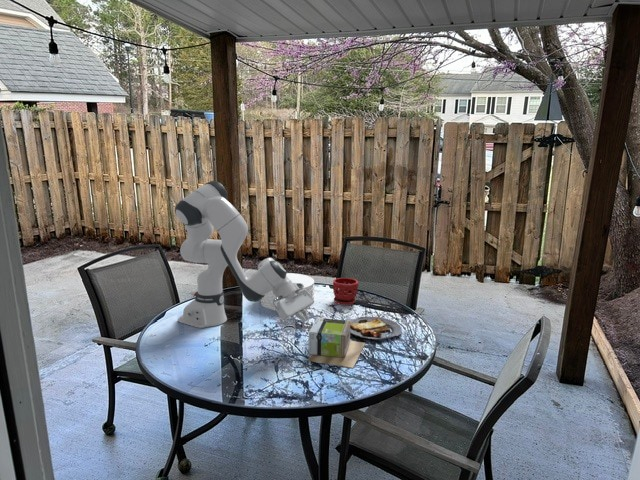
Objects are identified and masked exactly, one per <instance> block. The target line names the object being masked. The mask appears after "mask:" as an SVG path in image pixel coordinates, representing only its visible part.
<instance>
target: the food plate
mask: <svg viewBox="0 0 640 480" xmlns="http://www.w3.org/2000/svg"><path fill="white" fill-rule="evenodd" d="M349 321H350V335H351V334H352V335H353V336H357V337H359V338H361V339H366V340H371V339H372V340H386V339H389V338H393V337H398V336H400V335H401V334H402V331H403V329H402V326H401V324H399V323H398V322H395V320H392V319H389V318H385V317H380V316H370V315H369V316H360V317H357V318H352V319H350V320H349Z"/></svg>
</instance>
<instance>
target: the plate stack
mask: <svg viewBox="0 0 640 480" xmlns="http://www.w3.org/2000/svg"><path fill="white" fill-rule="evenodd" d="M286 276H287V278H289V279H290V280H291V281H292V283H302V284H303V285H304V289H306V290H307V291H308V292H309V293H310V295H311V296H312V297H313V299H314V300H315V280H314V278H313V277H311V276H308V275H305V274H302V273H288V272H287V274H286ZM275 298H276V296H275V295H274V294H273V291H272V290H271V291H270V292H268V293H267V294H266V295H265V296H264V297H263V298H262V299H261V300H260V304H261V305H262V307H263V308H266V309H269V310H271V311H276V309H275V306H274V305H273V300H274V299H275ZM314 304H315V302H314V303H313V304H312V305H311V306H309V307H308V308H310V307H312V306H313V305H314Z"/></svg>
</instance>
